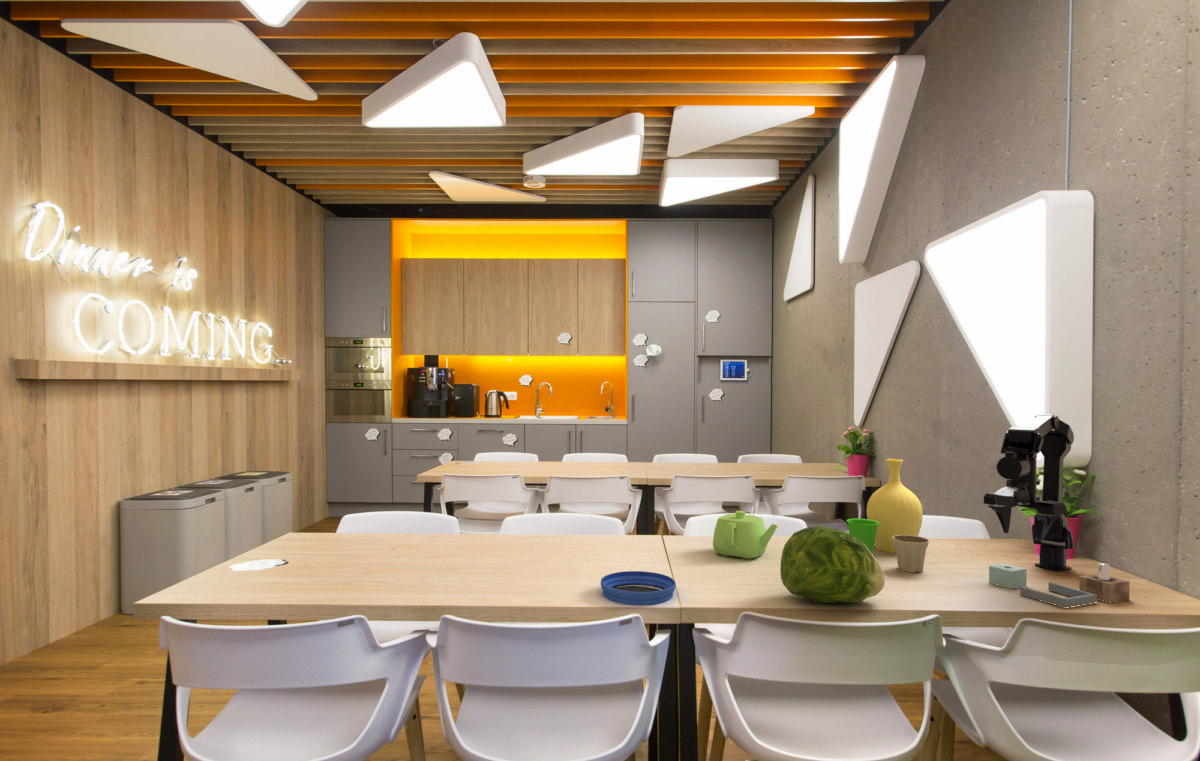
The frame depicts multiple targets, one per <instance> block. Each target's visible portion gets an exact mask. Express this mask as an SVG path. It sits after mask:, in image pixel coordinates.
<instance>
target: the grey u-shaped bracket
mask: <svg viewBox="0 0 1200 761" xmlns="http://www.w3.org/2000/svg"><path fill="white" fill-rule="evenodd" d="M1047 584H1048V586H1047V588H1048V589H1047V591H1048V590H1050V591H1049V592H1052V591H1053V593H1055V592H1057V593H1056V594H1058V593H1060V594H1059V595H1062V594H1064V595H1063V596H1065V595H1067V596H1066V597H1060V596H1057V595H1054V594H1050V593H1047V592H1044V591H1040V590H1037V589H1035V588H1030V587H1027V586H1021V587H1019V595H1020V594H1021V595H1020V596H1022V595H1024V596H1023V597H1025V596H1027V597H1026V598H1029V597H1031V598H1030V599H1032V598H1034V599H1033V600H1035V599H1039V600H1042V601H1046V602H1049V603H1052V604H1056V605H1059V606H1062V607H1065V608H1066V607H1071V606H1077V605H1083V604H1089V603H1094V602H1097V603H1098V600H1097V595H1096V594H1092V593H1088V592H1085V591H1081V590H1080V589H1077V588H1074V587H1070V586H1066V585H1063V584H1059V583H1056V582H1051V581H1050V582H1048V583H1047ZM1069 596H1071V597H1069ZM1042 601H1041V602H1042Z"/></svg>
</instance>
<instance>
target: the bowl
mask: <svg viewBox="0 0 1200 761" xmlns="http://www.w3.org/2000/svg"><path fill="white" fill-rule="evenodd" d="M676 585H677V584H676V581H675V579H674V578H672V577H670V576H669V575H666V574H662V573H658V572H652V571H645V570H644V571H642V570H640V571H639V570H627V571H626V570H625V571H618V572H611V573H609V574H606V575H604V576H602V578H601V579H600V587H601V590H602V596H604V598H605V599H607V600H609V601H611V602H614V603H617V604H620V605H621V604H622V605H628V606H653V605H658V604H664V603H666V602H668V601H669V600H672V598H673V596H674V592H675V590H676Z"/></svg>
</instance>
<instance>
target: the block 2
mask: <svg viewBox="0 0 1200 761" xmlns="http://www.w3.org/2000/svg"><path fill="white" fill-rule="evenodd" d="M1079 590H1081V591H1085V592H1088V593H1092V594H1096V595H1097V599H1100V600H1104V601H1107V602H1115V601H1121V602H1124V601H1123V600H1127V601H1130V580H1127V579H1122V578H1117V577H1114V576H1110V581H1103V580H1099V579H1098V573H1094V574H1092V573H1091V574H1087V575H1086V574H1085V575H1080V576H1079ZM1100 600H1099V601H1100ZM1104 601H1103V602H1104ZM1107 602H1106V603H1107ZM1115 603H1116V602H1115Z"/></svg>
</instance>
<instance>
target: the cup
mask: <svg viewBox="0 0 1200 761" xmlns="http://www.w3.org/2000/svg"><path fill="white" fill-rule="evenodd" d="M845 522H846V523H847V527H848V533H849V534H851V535H853V536H854V537H856V538H857V539H859V540H860V541H861V542H862V543H864V544H865V545H866V546H867V548H868V549H869V551H870V552H871V553H872V555H873V556H874V550H875V546H876V545H875V539H876V533H877V527H878V524H879V522H878V521H874V520H869V519H866V518H849V519H846V521H845Z"/></svg>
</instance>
